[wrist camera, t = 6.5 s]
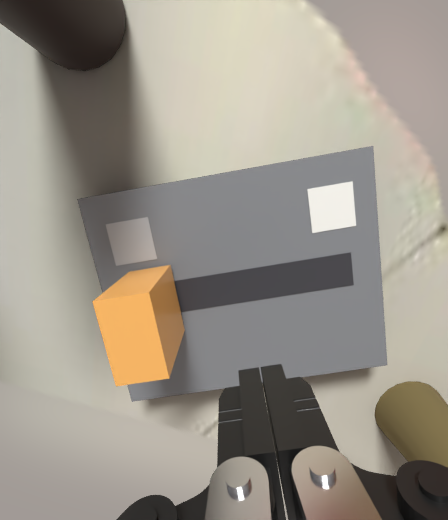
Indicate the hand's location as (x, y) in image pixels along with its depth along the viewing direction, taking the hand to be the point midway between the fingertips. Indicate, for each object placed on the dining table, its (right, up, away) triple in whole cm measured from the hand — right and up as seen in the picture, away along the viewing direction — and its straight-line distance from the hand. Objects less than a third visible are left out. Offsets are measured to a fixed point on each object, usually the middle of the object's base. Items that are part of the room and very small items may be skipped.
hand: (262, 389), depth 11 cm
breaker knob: (-6, +1, +12) cm, 13 cm away
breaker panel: (0, +3, +15) cm, 15 cm away
